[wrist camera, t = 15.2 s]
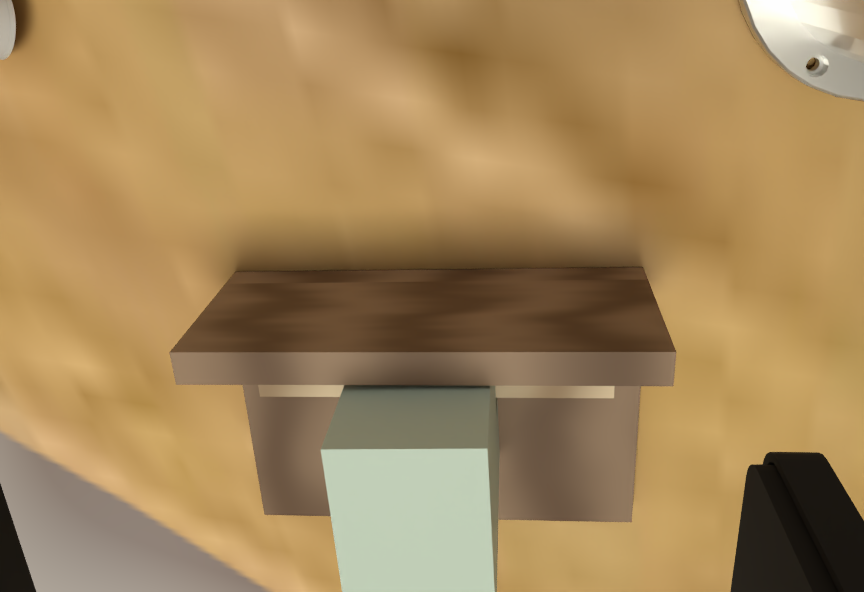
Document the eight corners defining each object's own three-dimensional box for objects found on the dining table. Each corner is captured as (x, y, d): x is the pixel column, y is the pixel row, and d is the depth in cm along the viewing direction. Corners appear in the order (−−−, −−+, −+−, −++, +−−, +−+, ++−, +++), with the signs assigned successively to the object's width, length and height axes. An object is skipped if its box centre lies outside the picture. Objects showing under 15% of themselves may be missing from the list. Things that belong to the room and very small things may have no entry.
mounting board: (642, 267, 38) (676, 352, 30) (627, 503, 44) (652, 625, 36) (235, 271, 40) (169, 352, 32) (271, 497, 46) (223, 611, 38)
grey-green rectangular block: (493, 313, 38) (487, 448, 28) (500, 465, 42) (496, 633, 32) (369, 316, 39) (320, 449, 29) (386, 466, 42) (348, 630, 32)
